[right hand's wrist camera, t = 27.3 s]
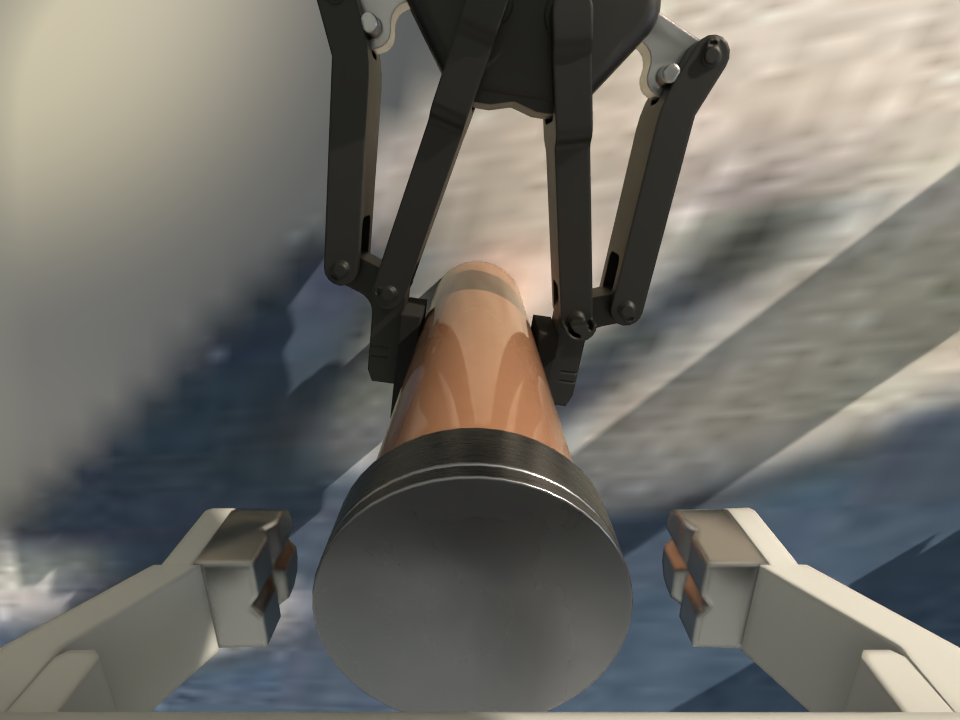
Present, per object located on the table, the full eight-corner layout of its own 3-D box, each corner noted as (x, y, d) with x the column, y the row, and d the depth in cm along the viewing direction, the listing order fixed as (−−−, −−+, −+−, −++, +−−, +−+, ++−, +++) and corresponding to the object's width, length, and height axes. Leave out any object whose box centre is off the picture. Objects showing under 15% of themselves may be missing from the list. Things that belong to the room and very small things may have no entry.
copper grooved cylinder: (447, 357, 28) (392, 695, 10) (420, 275, 27) (301, 504, 9) (530, 335, 28) (625, 647, 10) (508, 250, 26) (572, 438, 8)
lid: (329, 419, 9) (299, 469, 8) (628, 431, 9) (657, 483, 8) (342, 645, 11) (321, 721, 9) (593, 653, 11) (611, 730, 10)
